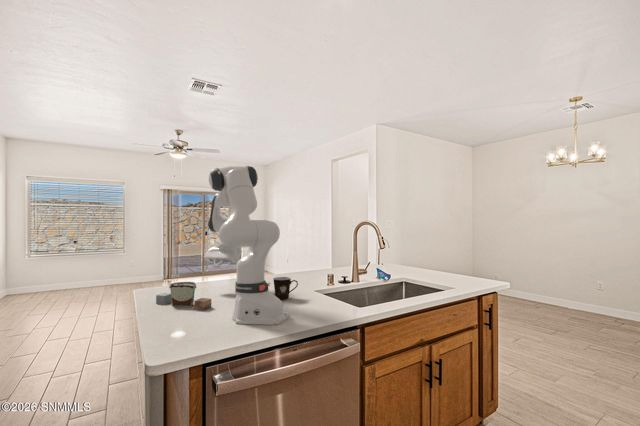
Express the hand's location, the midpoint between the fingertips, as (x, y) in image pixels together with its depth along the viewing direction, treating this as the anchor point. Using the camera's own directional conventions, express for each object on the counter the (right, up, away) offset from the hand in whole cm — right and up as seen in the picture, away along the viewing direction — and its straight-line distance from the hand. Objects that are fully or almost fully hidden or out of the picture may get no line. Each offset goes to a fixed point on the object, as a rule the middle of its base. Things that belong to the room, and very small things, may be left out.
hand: (215, 267), depth 163 cm
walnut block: (+4, -13, -28) cm, 31 cm away
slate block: (-18, -14, -18) cm, 29 cm away
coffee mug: (+38, -14, -11) cm, 42 cm away
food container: (-7, -14, -22) cm, 26 cm away
